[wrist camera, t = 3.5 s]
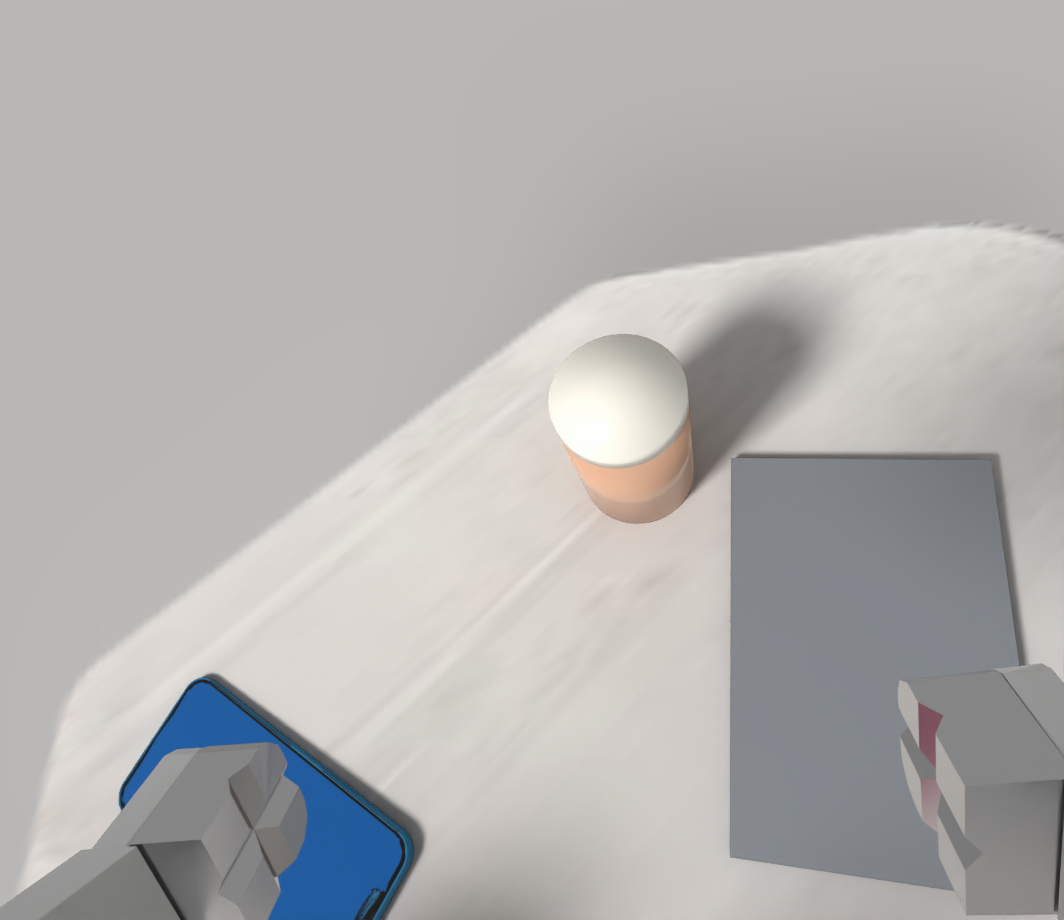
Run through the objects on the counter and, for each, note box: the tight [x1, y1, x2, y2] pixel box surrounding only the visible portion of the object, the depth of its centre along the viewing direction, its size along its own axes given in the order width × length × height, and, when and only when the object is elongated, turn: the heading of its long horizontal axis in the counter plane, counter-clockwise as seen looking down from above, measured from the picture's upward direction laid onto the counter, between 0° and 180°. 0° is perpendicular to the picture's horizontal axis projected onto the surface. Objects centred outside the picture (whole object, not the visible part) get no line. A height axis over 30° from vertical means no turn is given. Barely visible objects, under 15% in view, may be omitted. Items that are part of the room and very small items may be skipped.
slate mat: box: [730, 458, 1019, 891], centre depth 30 cm, size 17×11×1 cm, turn 174°
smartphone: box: [119, 678, 413, 920], centre depth 33 cm, size 7×1×15 cm
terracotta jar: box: [548, 334, 694, 524], centre depth 32 cm, size 6×6×8 cm
